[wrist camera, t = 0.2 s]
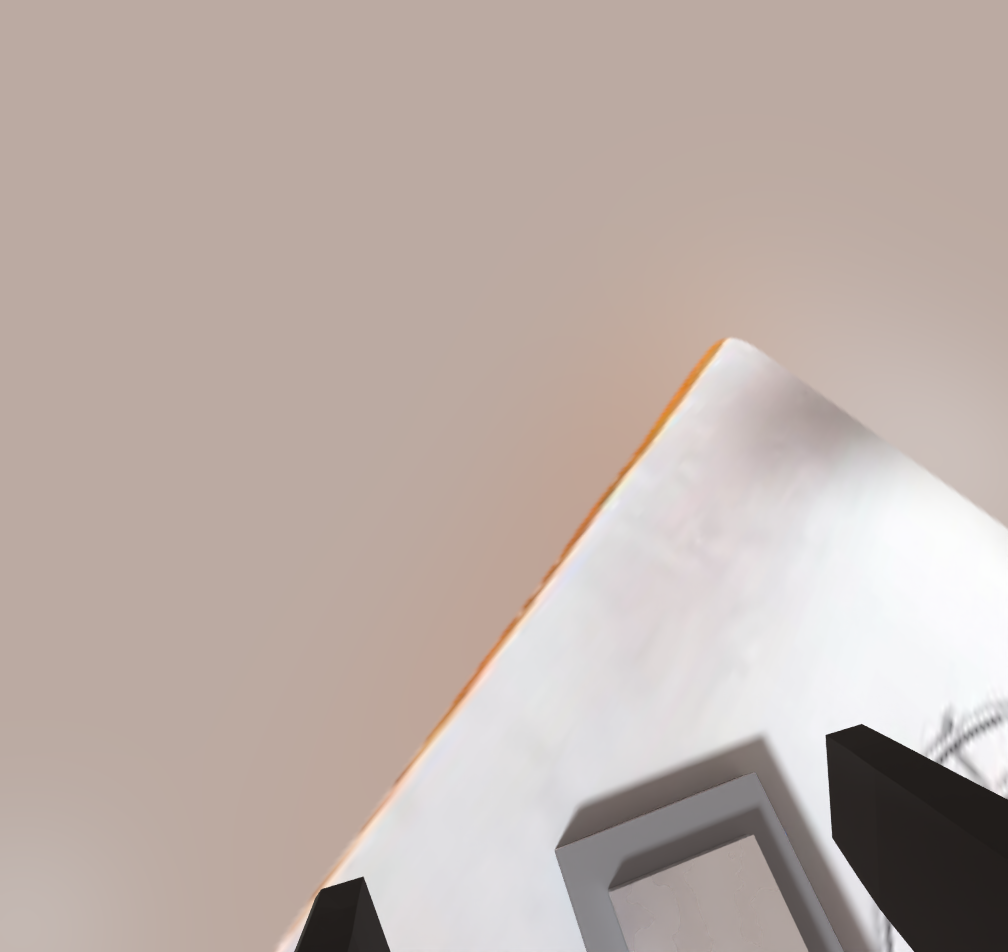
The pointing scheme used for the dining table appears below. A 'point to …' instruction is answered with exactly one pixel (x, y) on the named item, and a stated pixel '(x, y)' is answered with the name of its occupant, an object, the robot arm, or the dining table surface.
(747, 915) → the panel
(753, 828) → the socket plate
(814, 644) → the dining table surface
